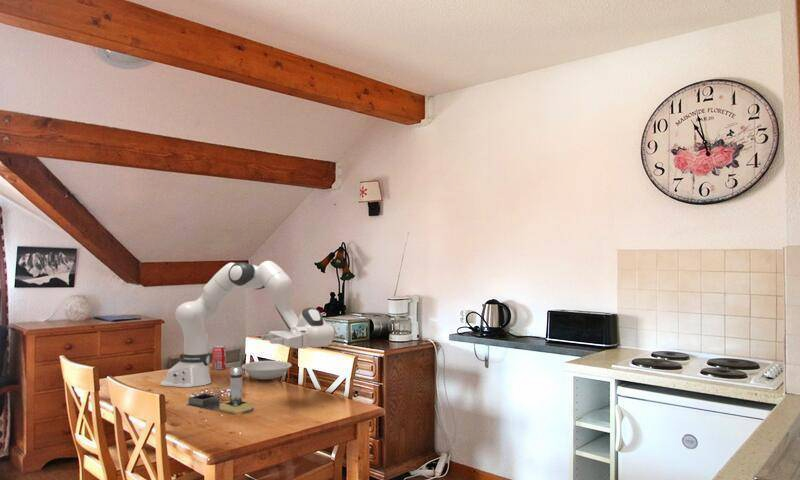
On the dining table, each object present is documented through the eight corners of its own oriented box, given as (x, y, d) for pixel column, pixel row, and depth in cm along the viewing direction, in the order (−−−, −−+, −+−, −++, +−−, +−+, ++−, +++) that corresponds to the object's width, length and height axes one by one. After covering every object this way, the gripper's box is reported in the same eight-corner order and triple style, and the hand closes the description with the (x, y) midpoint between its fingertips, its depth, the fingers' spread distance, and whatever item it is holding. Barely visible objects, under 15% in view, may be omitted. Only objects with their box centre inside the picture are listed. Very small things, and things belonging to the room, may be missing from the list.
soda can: (221, 367, 307) (222, 344, 307) (228, 369, 302) (228, 346, 302) (209, 368, 302) (209, 346, 302) (215, 370, 297) (216, 347, 297)
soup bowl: (290, 383, 270) (290, 369, 270) (238, 384, 266) (238, 370, 266) (292, 373, 294) (292, 360, 294) (244, 374, 290) (244, 361, 290)
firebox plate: (185, 407, 226) (185, 398, 226) (207, 401, 236) (207, 392, 236) (232, 417, 213) (232, 407, 213) (254, 410, 222) (254, 401, 222)
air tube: (228, 411, 217) (229, 369, 218) (230, 408, 222) (231, 367, 222) (240, 411, 218) (241, 369, 218) (242, 407, 222) (243, 366, 223)
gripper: (288, 326, 244) (257, 328, 236) (308, 333, 227) (276, 335, 219) (287, 341, 243) (256, 343, 236) (308, 349, 227) (275, 351, 219)
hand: (266, 339), depth 227 cm, fingers open, 8 cm apart
